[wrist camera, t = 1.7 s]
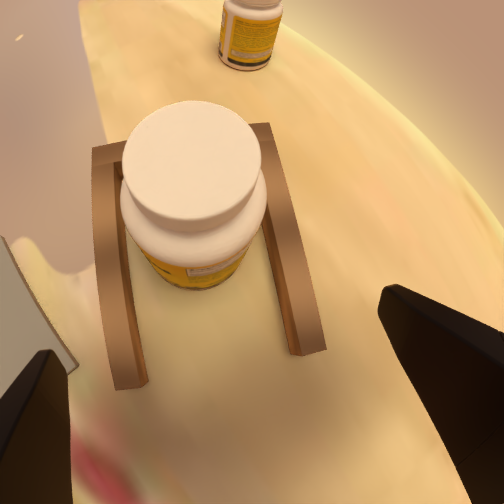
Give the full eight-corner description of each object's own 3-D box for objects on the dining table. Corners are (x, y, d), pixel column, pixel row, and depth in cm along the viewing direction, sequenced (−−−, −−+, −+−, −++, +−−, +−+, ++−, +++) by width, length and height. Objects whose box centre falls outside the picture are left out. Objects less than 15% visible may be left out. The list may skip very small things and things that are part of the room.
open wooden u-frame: (312, 348, 20) (326, 349, 18) (125, 384, 18) (115, 390, 15) (262, 142, 23) (269, 122, 21) (101, 166, 21) (92, 147, 19)
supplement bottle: (280, 61, 26) (302, -10, 18) (240, 78, 25) (255, 0, 17) (247, 35, 26) (261, -33, 18) (207, 50, 25) (214, -24, 17)
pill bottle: (136, 218, 20) (86, 115, 10) (222, 187, 22) (241, 69, 11) (167, 307, 19) (126, 273, 9) (259, 271, 21) (316, 203, 10)
